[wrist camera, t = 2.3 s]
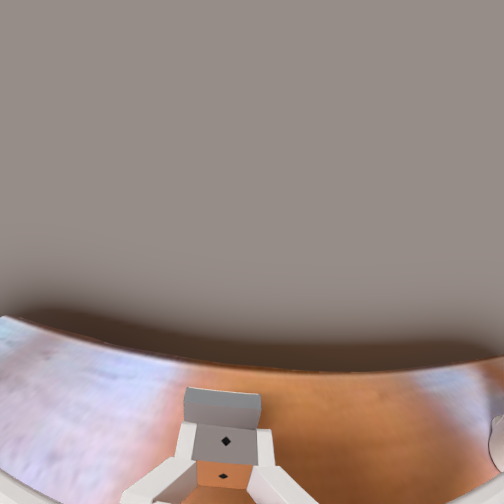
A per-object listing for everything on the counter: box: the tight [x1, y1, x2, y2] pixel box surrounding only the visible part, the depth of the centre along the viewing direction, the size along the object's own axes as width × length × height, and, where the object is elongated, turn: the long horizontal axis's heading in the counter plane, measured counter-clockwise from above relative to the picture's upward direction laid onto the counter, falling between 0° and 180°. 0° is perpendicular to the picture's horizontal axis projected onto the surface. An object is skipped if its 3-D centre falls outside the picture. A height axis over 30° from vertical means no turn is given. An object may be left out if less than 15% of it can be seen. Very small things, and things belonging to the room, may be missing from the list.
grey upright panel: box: [184, 387, 262, 429], centre depth 25 cm, size 2×7×11 cm, turn 91°
